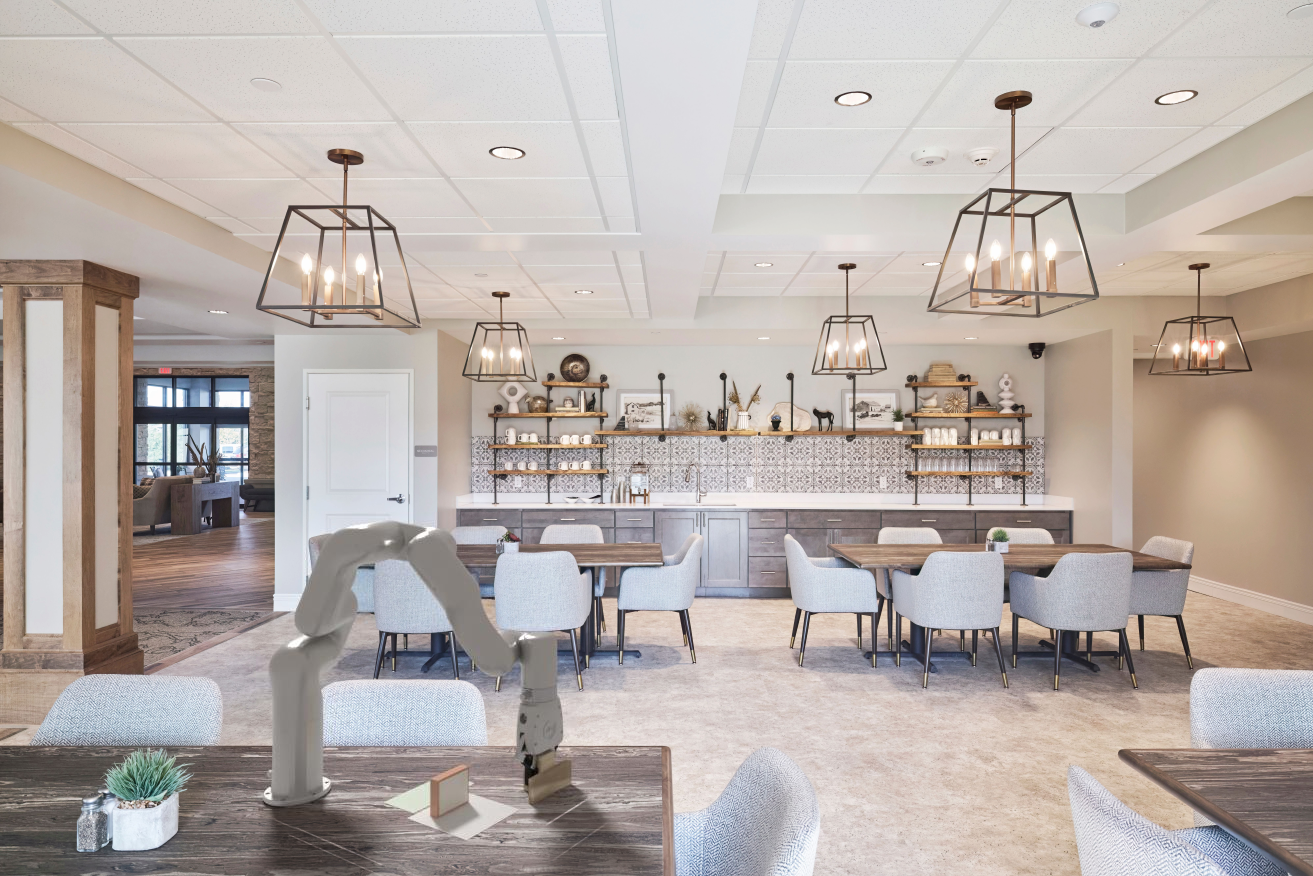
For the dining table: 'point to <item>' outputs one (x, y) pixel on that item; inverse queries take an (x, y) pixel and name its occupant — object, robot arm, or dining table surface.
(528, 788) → the stepped beige block
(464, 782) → the tile
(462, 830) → the mat
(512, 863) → the dining table surface
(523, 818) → the dining table surface
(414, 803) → the pad
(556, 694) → the robot arm
